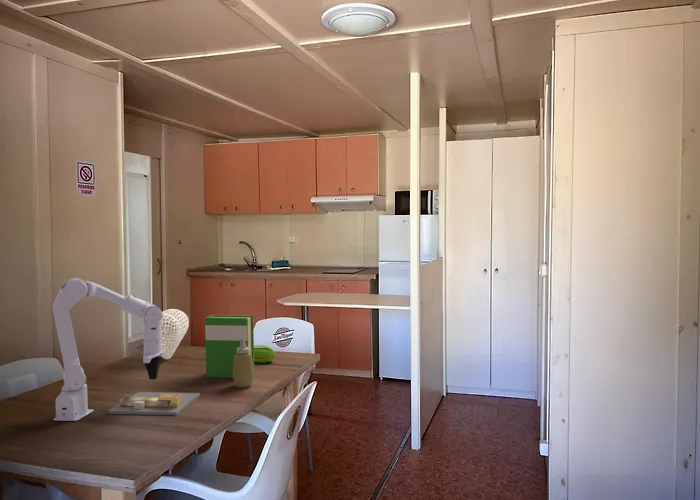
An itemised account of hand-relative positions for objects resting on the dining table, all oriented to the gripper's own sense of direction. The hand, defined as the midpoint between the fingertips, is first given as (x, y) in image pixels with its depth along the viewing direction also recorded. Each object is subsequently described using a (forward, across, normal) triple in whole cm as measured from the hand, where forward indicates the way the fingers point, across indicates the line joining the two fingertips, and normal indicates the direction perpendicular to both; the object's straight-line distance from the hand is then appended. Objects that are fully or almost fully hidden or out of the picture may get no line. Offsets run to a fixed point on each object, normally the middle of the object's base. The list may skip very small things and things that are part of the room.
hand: (153, 378), depth 185 cm
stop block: (+8, -9, +2) cm, 12 cm away
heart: (+8, +63, +12) cm, 65 cm away
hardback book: (+8, +32, -22) cm, 40 cm away
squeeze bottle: (+8, +16, -29) cm, 34 cm away
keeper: (+7, -8, -8) cm, 13 cm away
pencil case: (+8, +53, -29) cm, 61 cm away
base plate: (+8, -3, -2) cm, 9 cm away
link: (+7, -6, +1) cm, 9 cm away
